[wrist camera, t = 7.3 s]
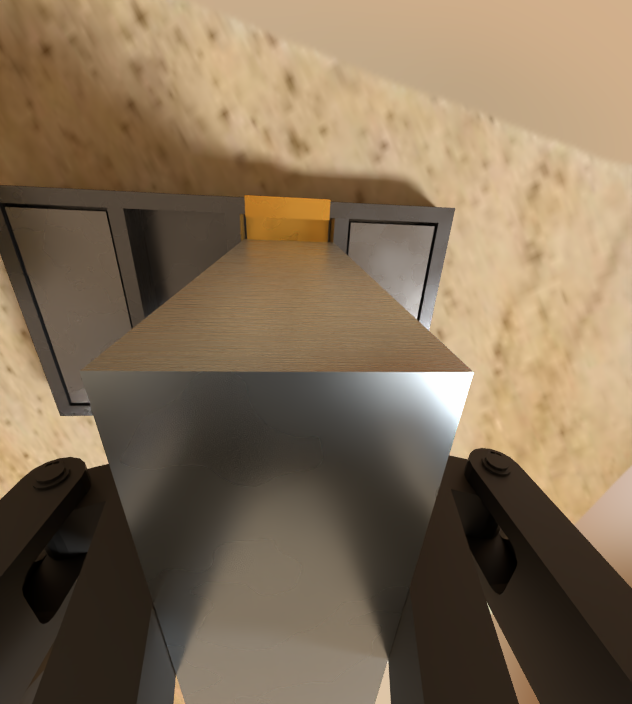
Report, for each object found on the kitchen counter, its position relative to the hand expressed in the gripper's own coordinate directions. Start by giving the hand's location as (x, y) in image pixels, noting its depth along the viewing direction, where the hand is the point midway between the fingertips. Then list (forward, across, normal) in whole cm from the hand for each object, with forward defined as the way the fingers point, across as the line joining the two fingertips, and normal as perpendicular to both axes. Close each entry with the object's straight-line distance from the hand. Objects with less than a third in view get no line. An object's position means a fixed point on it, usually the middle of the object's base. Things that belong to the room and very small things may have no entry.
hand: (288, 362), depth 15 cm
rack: (+8, -3, 0) cm, 9 cm away
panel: (+2, 0, 0) cm, 2 cm away
